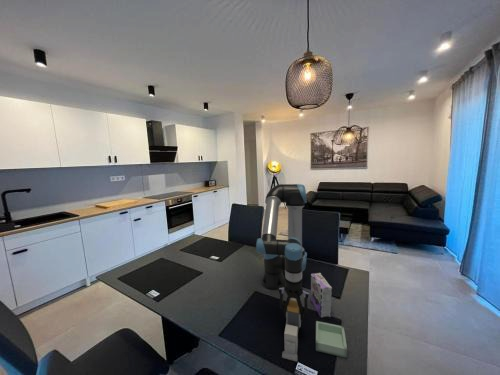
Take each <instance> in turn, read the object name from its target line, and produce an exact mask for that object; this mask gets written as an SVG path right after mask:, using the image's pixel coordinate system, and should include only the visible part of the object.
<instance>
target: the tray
mask: <svg viewBox="0 0 500 375" xmlns="http://www.w3.org/2000/svg"><path fill="white" fill-rule="evenodd" d="M347 346H348V345H347V339H346V333H345V326H343V325H339V324H334V323H329V322H324V321H318V320H316V321H315V351H316V352H320V353H324V354H328V355H333V356H336V357H339V358H345V359H347V358H348V347H347Z"/></svg>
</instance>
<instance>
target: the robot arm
mask: <svg viewBox="0 0 500 375" xmlns="http://www.w3.org/2000/svg"><path fill="white" fill-rule="evenodd" d="M264 202H265V205H266V207H265V211H264V219H263V226H262V233H261V238H260V237H259V238H257V239H256V244H255V245H256V246H255V248H256V249H255V250H256V253H257V254H260V255H261V254H262V255H263V263H264V264H263V266H264V267H263V269H264V271H263V275H262V278H261V284H262V286H263V287H264V288H266V289H269V290H272V291H273V290H275V291H276V290H278V294H279V309H280V310H281V311H283V317H284V318H286V320H285V321H286V322H285V325H286V324H287V306H288V303H289V300H291V298H294V299H296V301H297V303H298V307H299V328H301V325H302V321H304V315H308V309H309V308H308V305H309V304H308V298H309V295H310V293H309V291H307V290H306V291H305V290H304V289H303V272H304V271H305V270H306V267H307V266H306V265H307V256H308V252H306V251H305V248H304V247H303V208H304V207H305V204H307V203H308V201H307V191H306V186H305V185H304V184H302V183H301V184H300V183H294V184H293V183H289V184H287V183H286V184H283V183H281V184H280V183H279V184H276V185H274V186H273V187H272V188H271V189H270V190H269V191H268V192H267V194H266V196H265V201H264ZM283 203H285V207H286V208H287V239H277V234H278V233H277V232H278V221H279V211H280V210H279V209H280V206H281V204H283ZM283 270H284V273H283ZM284 292H285V293H286V294H287V296H286V301H285V303H284ZM302 295H303V296H302ZM301 296H302V297H304V300H303V301H304V305H303V303H302V299H301ZM303 306H304V307H303Z"/></svg>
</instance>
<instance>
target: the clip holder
mask: <svg viewBox="0 0 500 375" xmlns="http://www.w3.org/2000/svg"><path fill="white" fill-rule="evenodd" d="M288 325H289V324H288ZM292 326H293V325H292ZM281 354H282V355H281V358H282V359H285V360H289V361H293V362H297V363H298V354H297V355H296V354H295V343H292V342H288V341H285V351H284V350H283V351H282V352H281Z"/></svg>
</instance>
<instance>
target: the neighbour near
mask: <svg viewBox="0 0 500 375" xmlns="http://www.w3.org/2000/svg"><path fill="white" fill-rule="evenodd" d="M283 334H284V335H283V336H284V337H283V338H284V341H283V342H284V347H283V348H284V350H283V351H285V341H288V342H292V343H295V354H296V355H297V356H298V348H299V346H298V345H299V344H298V343H299V338H298V337H299V335H298V334H299V333H298V327H297V326H292V325H287V324H286V323H285V328H284V333H283Z"/></svg>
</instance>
